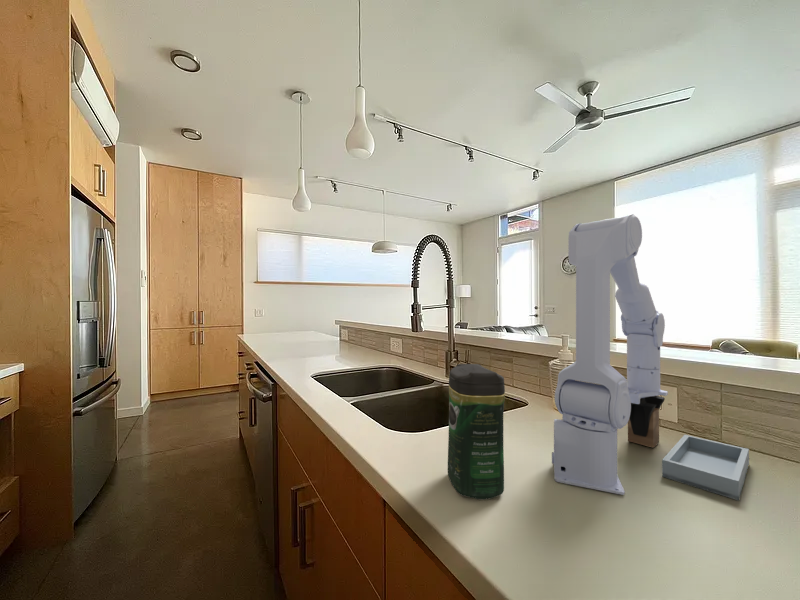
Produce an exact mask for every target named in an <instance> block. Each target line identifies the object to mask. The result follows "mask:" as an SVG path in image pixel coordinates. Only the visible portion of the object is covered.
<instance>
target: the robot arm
mask: <svg viewBox="0 0 800 600" xmlns="http://www.w3.org/2000/svg"><path fill="white" fill-rule="evenodd" d="M642 240H643V229H642V224H641V221H640V218H638V216H636V215H635V214H634V213H629V214H626V215H623V216H617V217H611V218H605V219H601V220H595V221H590V222H589V221H588V222H584V223H581V222H579V223H576V224H575V225H574V226H573V227H572V228H571V229H570V231H568V245H567V246H568V250H567V251H568V254H567V255H568V264H569V265H572V266H575V361H574V362H572V363H571V364H569V365H567V366H566V367H564V368H563V369H562V370H560V371H559V373H558V374H557V384H556V388H555V391H554V404H555V408H556V409H557V411H558V412H559V414H561V415H562V419H559V418H557V419H556V418H554V419H553V451H552V452H551V464H552V465H553V471H554V472H553V473H554V481H555V482H557V483H562V484H566V485H570V486H571V485H572V486H576V487H581V488H587V489H592V490H597V491H601V492H606V493H611V494H616V495H622V496H625V494H626V493H625V492H626V491H625V488H624V487H623V484H622V482H621V480H620V478H619V475H618V430H621V429H623V428H624V427H625V426H626V425H628V421H629V418H630V422H631V426H632V430H633V433H634V434H635V435H639V436H643V437H646V436H647V433H648V428H649V422H650V418H651V415H652V412H653V410H654V408H658V409H659V410H660V408H661V407H662V405H663V403H664V402H665V400H666V399H665V397H666V396H668V395H669V391H667V390H663V389H661V347H662V346H663V344H664V334H665V326H666V325H665V324H666V323H665V321H666V320H665V316H664V314H663V313H662V312H660V313H659V311H658V310H657V308H656V307H655V304H654V300H653V298H652V295H651V291H650V288H649V287H648V285H646V284H645V283H642V282H640V278H639V274H638V269H637V263H636V259H635V257H637V255H638V252H639V248H640V247H641V244H642ZM611 277H612V280H613V281H614V282H615V285H616V286H617V290H616V291H615V294H614V297H615V300H616V302H617V304H618V307H619V310H620V312H621V315H620V320H621V329H622V333H623V335H624V336H626V377H625V376H624V375H622V373H620V372H619V371H618V370H617V369H616V368H614V367H613V366H612V365H611ZM664 396H665V397H664Z"/></svg>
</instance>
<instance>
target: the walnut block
mask: <svg viewBox="0 0 800 600" xmlns="http://www.w3.org/2000/svg"><path fill="white" fill-rule="evenodd" d="M627 442H629V443H634V444H638V445H643V446H646V447H647V448H648V447H649V448H655V447H656V446H657V445H658V444H659V443H660V409H658V408H654V410H653V412H652V415H651V418H650V422H649V428H648V433H647V436H646V437H643V436H639V435H635V434H634V433H633V430H632V426H631V422H630V418H629V421H628V423H627Z"/></svg>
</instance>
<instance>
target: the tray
mask: <svg viewBox="0 0 800 600" xmlns="http://www.w3.org/2000/svg"><path fill="white" fill-rule="evenodd" d="M661 460H662V461H661V470H662V472H661V476H662V478H666V479H668V480H672V481H674V482H679V483H681V484H684V485H687V486H690V487H694V488H698V489H699V490H703V491H707V492H710V493H713V494H717V495H720V496H722V497H725V498H729V499H732V500H736V501H740V498H741V494H742V491H743V487H744V485H745V480H746V477H747V474H746V473H748V470H747V469H749V467H748V465H749V466H750V448H747V447H741V446H738V445H737V446H736V445H733V444H729V443H723V442H720V441H716V440H711V439H705V438H702V437H698V436H693V435H688V434H683V436H682V437H681V438H680V439H679V440H678V441H677V442H676V443H675V445H674V446H673V447H672V448H671V449H670V450H669V452H667V454H666V455H665V456H664V457H663V458H662V459H661Z"/></svg>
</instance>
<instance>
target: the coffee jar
mask: <svg viewBox="0 0 800 600" xmlns="http://www.w3.org/2000/svg"><path fill="white" fill-rule="evenodd" d="M504 378H505V377H504V376H503V375H501V374H498V372H496V371H493V370H490V369H489V368H485V367H484V366H483V365H481V364H478V363H458V364H457V365H456V366H454V367H453V368H451V369H450V371H449V375H448V400H449V401H448V406H449V407H448V438H447V439H448V443H447V445H448V447H447V476H448V479H449V481H450V483H451V485H452V487H453V488H454V489H455V491H456V492H457V493H458V494H459V496H462V497H468V498H472V499H475V500H484V501H485V500H492V499H493V498H496V497H499V496H501V495H503V493H504V491H505V465H504V464H505V463H504V462H505V461H504V459H505V458H504V455H505V454H504V408H505V400H506V398H505V397H506V391H505V389H506V387H505V385H506V384H505V379H504Z"/></svg>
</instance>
